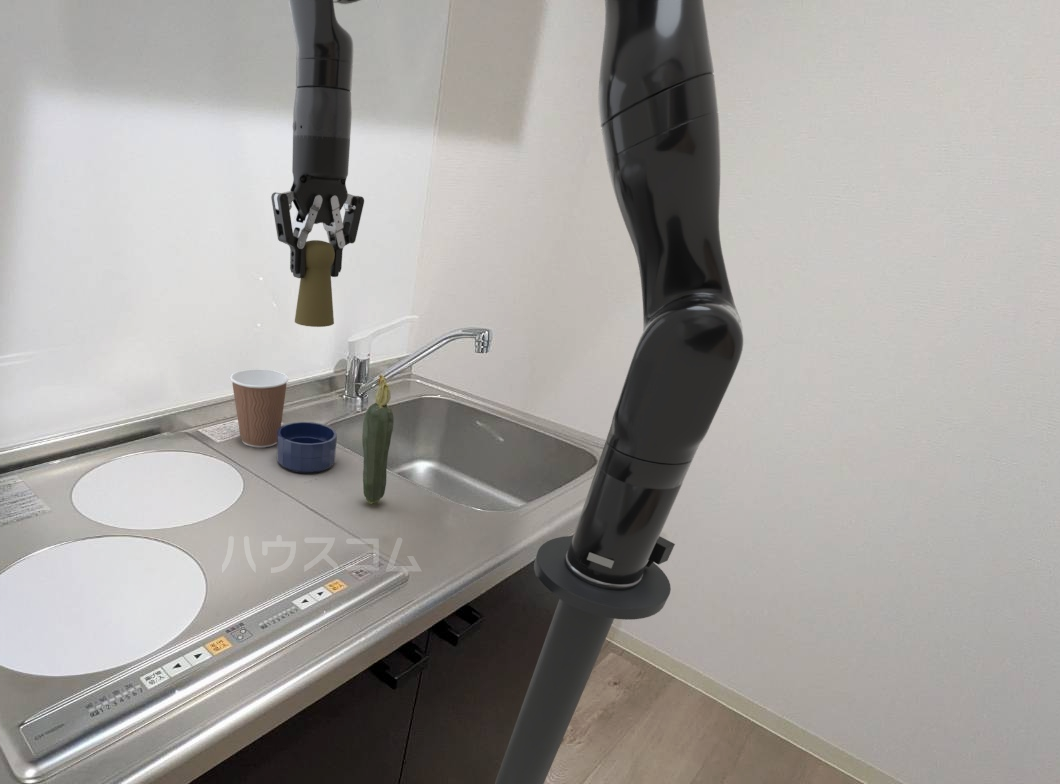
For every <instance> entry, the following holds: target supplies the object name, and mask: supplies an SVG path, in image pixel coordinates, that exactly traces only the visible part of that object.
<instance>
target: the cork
mask: <svg viewBox="0 0 1060 784" xmlns="http://www.w3.org/2000/svg"><path fill="white" fill-rule="evenodd" d="M303 249H305V276H304V278H299V279H300V281H299V287H298V295H297V300H296V301H297V302H296V308H295V315H294V316H295V317H294V323H295V324H297V325H298V326H299V325H300V326H303V327H311V328H312V327H313V328H323V327H331V326H333V325H334V324H335V318H334V303H333V290H332V289H333V288H332V277H331V272H330V267H331V265H332V264H333V262H334V258H335V252H334V248H333V246H332V245H331V244H330V243H329V241H328V242H327V241H325V240H319V239H318V240H317V239H313V240H312V239H311V240H306V243H305V246H304V248H303Z"/></svg>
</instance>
